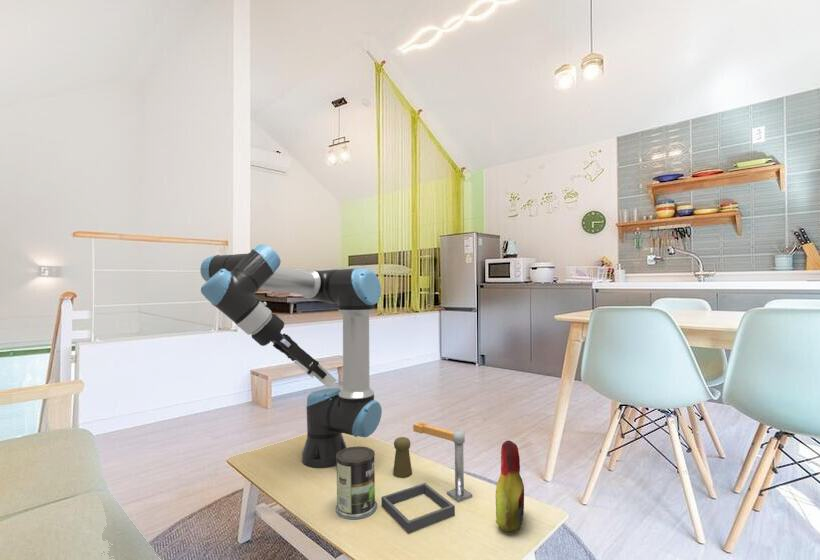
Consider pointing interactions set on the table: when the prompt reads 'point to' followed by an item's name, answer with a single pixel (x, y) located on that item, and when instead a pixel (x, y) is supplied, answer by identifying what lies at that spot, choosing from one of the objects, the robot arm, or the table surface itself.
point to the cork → (402, 458)
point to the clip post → (459, 477)
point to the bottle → (509, 489)
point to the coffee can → (355, 481)
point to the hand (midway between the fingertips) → (323, 378)
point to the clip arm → (440, 432)
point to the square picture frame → (421, 521)
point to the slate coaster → (357, 517)
